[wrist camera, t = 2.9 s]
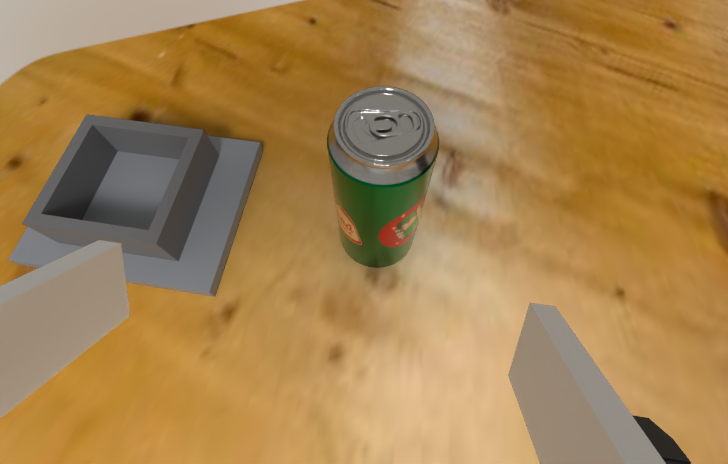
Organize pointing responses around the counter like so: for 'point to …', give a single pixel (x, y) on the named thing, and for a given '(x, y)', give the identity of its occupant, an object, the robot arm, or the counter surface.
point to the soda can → (381, 171)
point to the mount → (145, 201)
